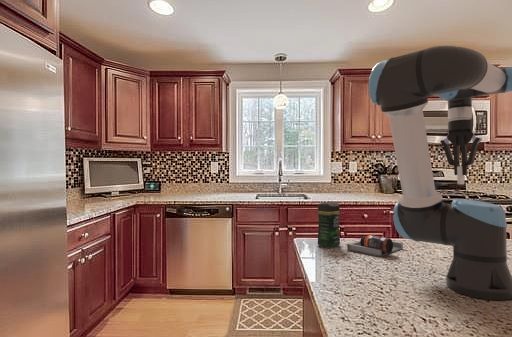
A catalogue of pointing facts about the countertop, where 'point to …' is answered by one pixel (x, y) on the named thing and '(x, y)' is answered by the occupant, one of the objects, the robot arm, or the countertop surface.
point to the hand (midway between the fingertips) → (460, 184)
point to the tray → (372, 249)
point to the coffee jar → (328, 224)
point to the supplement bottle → (377, 243)
